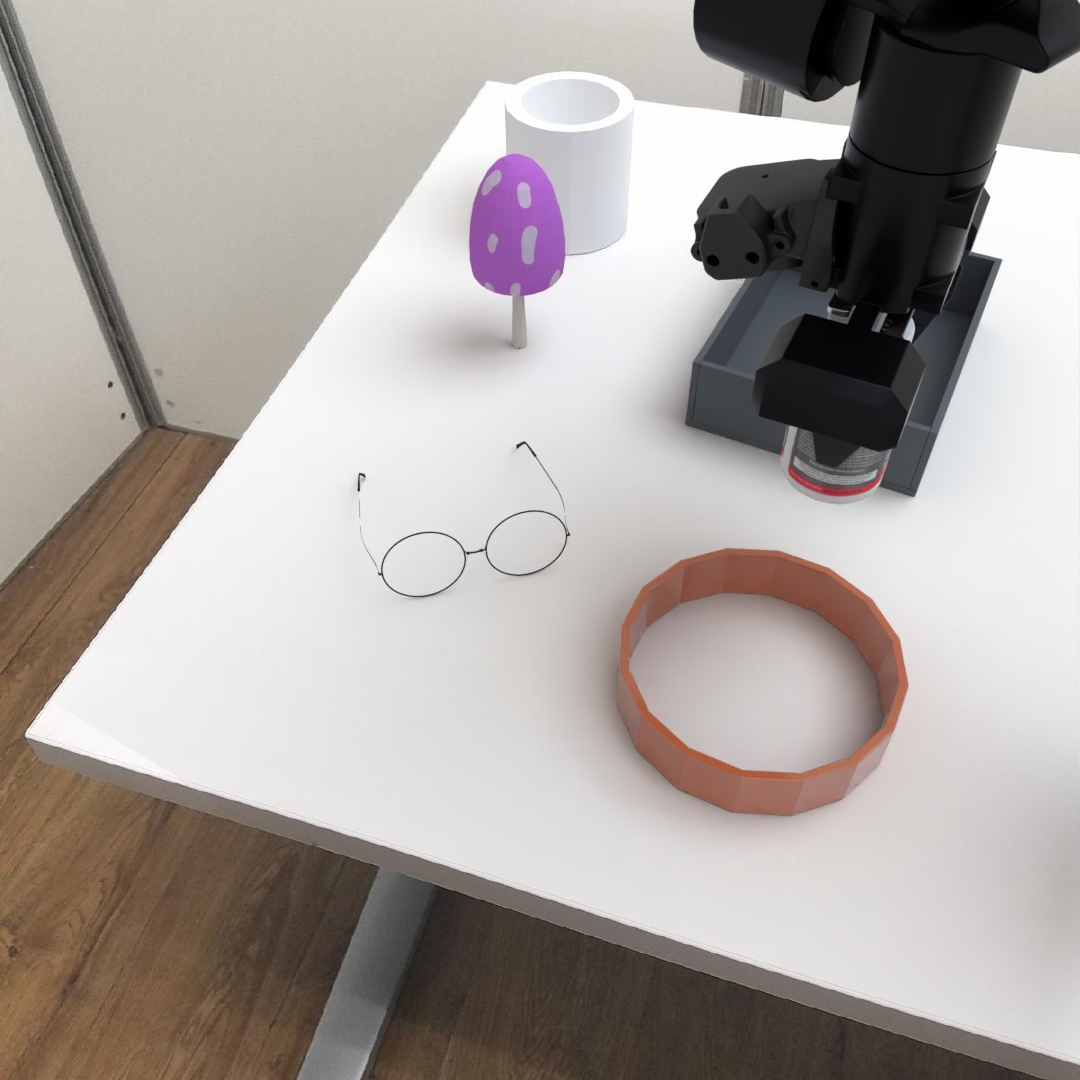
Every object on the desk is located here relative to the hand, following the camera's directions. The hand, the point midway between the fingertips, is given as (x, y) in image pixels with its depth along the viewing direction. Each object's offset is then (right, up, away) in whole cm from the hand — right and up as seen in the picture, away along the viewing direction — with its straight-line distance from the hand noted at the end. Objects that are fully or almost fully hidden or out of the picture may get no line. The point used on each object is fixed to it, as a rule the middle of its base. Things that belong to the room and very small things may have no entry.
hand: (842, 428), depth 54 cm
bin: (+6, +7, +23) cm, 25 cm away
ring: (-4, -14, +5) cm, 15 cm away
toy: (-17, +9, +26) cm, 32 cm away
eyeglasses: (-21, -5, +14) cm, 25 cm away
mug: (-13, +22, +38) cm, 46 cm away
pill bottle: (0, -2, +2) cm, 3 cm away
